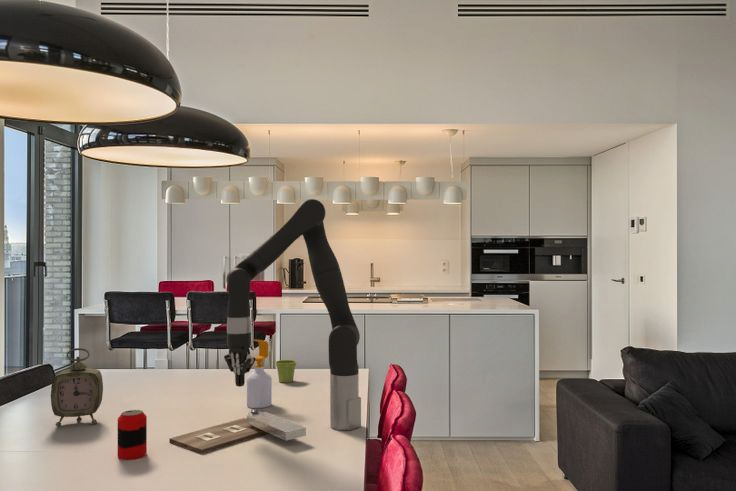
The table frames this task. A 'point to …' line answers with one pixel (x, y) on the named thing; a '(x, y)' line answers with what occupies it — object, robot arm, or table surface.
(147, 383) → the table surface
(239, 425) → the label panel
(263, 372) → the soap bottle
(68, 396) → the tabletop clock
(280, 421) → the swing arm
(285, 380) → the plant pot
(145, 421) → the soda can
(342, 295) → the robot arm
